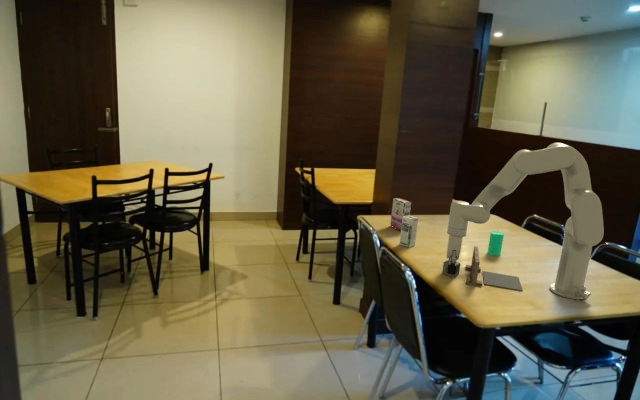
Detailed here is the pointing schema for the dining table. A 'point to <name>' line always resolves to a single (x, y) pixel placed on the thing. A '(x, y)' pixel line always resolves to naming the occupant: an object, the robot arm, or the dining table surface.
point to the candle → (495, 243)
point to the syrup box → (408, 231)
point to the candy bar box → (399, 212)
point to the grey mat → (502, 281)
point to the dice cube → (445, 268)
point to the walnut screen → (474, 269)
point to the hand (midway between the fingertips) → (451, 269)
